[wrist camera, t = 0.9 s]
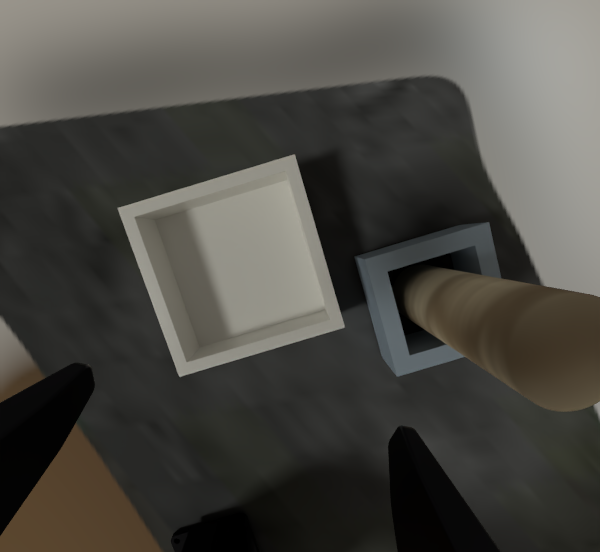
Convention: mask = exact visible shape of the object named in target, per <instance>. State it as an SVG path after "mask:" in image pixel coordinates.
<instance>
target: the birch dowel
mask: <svg viewBox="0 0 600 552" xmlns="http://www.w3.org/2000/svg"><path fill="white" fill-rule="evenodd" d="M392 291H393V295H394V298H395V302H396V306H397V310H398V311H399V312H400V313H401V314H402V315H404V316H405V317H407V318H408V319H410V320H411V321H413V322H414V323H415V324H417V325H418V326H420V327H421V328H423V329H424V330H426V331H427V332H429V333H430V334H432V335H433V336H435V337H436V338H438V339H439V340H441V341H442V342H444V343H445V344H447V345H448V346H450V347H451V348H453V349H454V350H456V351H457V352H459V353H460V354H462V355H463V356H465V357H466V358H468V359H469V360H471V361H472V362H474V363H475V364H477V365H478V366H480V367H481V368H483V369H484V370H486V371H487V372H489V373H490V374H492V375H493V376H495V377H496V378H498V379H499V380H501V381H502V382H504V383H505V384H507V385H508V386H510V387H511V388H513V389H514V390H516V391H517V392H519V393H520V394H522V395H523V396H525V397H526V398H528V399H529V400H531V401H532V402H534V403H535V404H537V405H538V406H541V407H543V408H545V409H549V410H552V411H559V412H570V411H577V410H581V409H584V408H587V407H590V406H592V405H594V404H596V403H598V402H599V401H600V297H597V296H594V295H590V294H584V293H579V292H573V291H568V290H562V289H557V288H551V287H546V286H540V285H535V284H529V283H523V282H518V281H512V280H507V279H501V278H496V277H490V276H485V275H479V274H474V273H468V272H462V271H457V270H451V269H446V268H440V267H435V266H429V265H421V264H420V265H414V266H411V267H409V268H407V269H405V270H404V271H402V272H401V273H400V274H399V276H398V277H397V278H396V280H395V282H394V285H393V289H392Z"/></svg>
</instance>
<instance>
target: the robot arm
mask: <svg viewBox="0 0 600 552" xmlns="http://www.w3.org/2000/svg"><path fill="white" fill-rule="evenodd" d="M94 387H95V382H94V377H93V372H92V367H91V366H90V365H87V364H82V363H73V364H71V365H69V366H67V367H65V368H63V369H61V370H59V371H58V372H56V373H54V374H52V375H50V376H48V377H47V378H45V379H43V380H41V381H39V382H37V383H36V384H34V385H32V386H30V387H28V388H26V389H25V390H23V391H21V392H19V393H17V394H15V395H13V396H12V397H10V398H8V399H6V400H4V401H3V402H1V403H0V535H1V534H2V533H3V531H4V530H5V528H6V527H7V525H8V524H9V522H10V521H11V520H12V518H13V517H14V515H15V514H16V512H17V511H18V510H19V508H20V507H21V505H22V504H23V502H24V501H25V499H26V498H27V497H28V495H29V494H30V492H31V491H32V489H33V488H34V487H35V485H36V484H37V482H38V481H39V479H40V478H41V476H42V475H43V474H44V472H45V471H46V469H47V468H48V466H49V465H50V463H51V462H52V461H53V459H54V458H55V456H56V455H57V453H58V452H59V450H60V449H61V447H62V446H63V444H64V442H65V441H66V439H67V437H68V435H69V434H70V432H71V430H72V428H73V427H74V425H75V423H76V421H77V419H78V418H79V416H80V414H81V412H82V411H83V409H84V407H85V405H86V403H87V402H88V400H89V398H90V396H91V395H92V393H93V391H94ZM388 454H389V474H390V494H391V507H392V515H393V522H394V529H395V536H396V543H397V550H398V552H500V550H499V549H498V547H497V546H496V545H495V543H494V542H493V540H492V539H491V537H490V536H489V535H488V533H487V532H486V530H485V529H484V527H483V526H482V525H481V523H480V522H479V520H478V519H477V517H476V516H475V515H474V513H473V512H472V510H471V509H470V507H469V506H468V505H467V503H466V502H465V500H464V499H463V497H462V496H461V495H460V493H459V492H458V490H457V489H456V487H455V486H454V485H453V483H452V482H451V480H450V479H449V477H448V476H447V475H446V473H445V472H444V470H443V469H442V467H441V466H440V465H439V463H438V462H437V460H436V459H435V457H434V456H433V455H432V453H431V452H430V450H429V449H428V447H427V446H426V445H425V443H424V442H423V440H422V439H421V437H420V436H419V435H418V433H417V432H416V430H415V429H413V428H412V427H407V426H402V425H401V426H399V427H398V428H397V429H396V431H395V433H394V434H393V436H392V437H391V439H390V441H389V445H388ZM240 520H242V521H240ZM177 538H178V539H177ZM171 543H172V546H173V548H174V551H175V552H259V549H258V546H257V544H256V541H255V538H254V535H253V532H252V530H251V527H250V524H249V521H248V518H247V516H246V515H245V514H244V513H237V514H234V515H231V516H227V517H224V518H221V519H217V520H214V521H210V522H207V523H204V524H200V525H197V526H193V527H190V528H187V529H183V530H180V531H177V532H175V533H174V534H173V536H172V539H171Z"/></svg>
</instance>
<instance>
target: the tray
mask: <svg viewBox="0 0 600 552" xmlns="http://www.w3.org/2000/svg"><path fill="white" fill-rule="evenodd" d="M118 211H119V214H120V216H121V219H122V222H123V224H124V227H125V230H126V233H127V235H128V238H129V241H130V244H131V246H132V249H133V252H134V254H135V257H136V260H137V263H138V265H139V268H140V271H141V274H142V276H143V279H144V282H145V285H146V287H147V290H148V293H149V295H150V298H151V301H152V304H153V306H154V309H155V312H156V315H157V317H158V320H159V323H160V326H161V328H162V331H163V334H164V336H165V339H166V342H167V345H168V347H169V350H170V353H171V356H172V358H173V361H174V364H175V367H176V369H177V372H178V375H179V377H181V376H184V375H187V374H191V373H194V372H197V371H201V370H204V369H207V368H211V367H214V366H217V365H221V364H224V363H227V362H231V361H234V360H237V359H241V358H244V357H248V356H251V355H254V354H258V353H261V352H264V351H268V350H271V349H274V348H278V347H281V346H284V345H288V344H291V343H294V342H298V341H301V340H304V339H308V338H311V337H314V336H318V335H321V334H324V333H328V332H331V331H334V330H338V329H341V328H345V326H344V323H343V319H342V316H341V312H340V309H339V305H338V302H337V299H336V295H335V292H334V288H333V285H332V281H331V278H330V274H329V271H328V267H327V264H326V261H325V257H324V254H323V250H322V247H321V243H320V240H319V236H318V233H317V229H316V226H315V223H314V219H313V216H312V212H311V209H310V205H309V202H308V198H307V195H306V192H305V188H304V185H303V181H302V178H301V174H300V171H299V167H298V164H297V160H296V157H295V154H294V155H291V156H287V157H284V158H281V159H278V160H274V161H271V162H268V163H264V164H261V165H258V166H255V167H251V168H248V169H245V170H241V171H238V172H235V173H232V174H228V175H225V176H222V177H218V178H215V179H212V180H209V181H205V182H202V183H199V184H195V185H192V186H189V187H186V188H182V189H179V190H176V191H172V192H169V193H166V194H163V195H159V196H156V197H153V198H149V199H146V200H143V201H140V202H136V203H133V204H130V205H126V206H123V207H120V208H118Z"/></svg>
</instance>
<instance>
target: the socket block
mask: <svg viewBox="0 0 600 552" xmlns="http://www.w3.org/2000/svg"><path fill="white" fill-rule="evenodd" d="M448 253H450V255H451V259H452V263H453V267H454V270H457V271H462V272H468V273H474V274H479V275H485V276H490V277H496V278H501V274H500V270H499V265H498V261H497V256H496V252H495V247H494V243H493V238H492V233H491V229H490V224H489V222H485V223H474V224H464V225H457V226H454V227H451V228H448V229H444V230H441V231H438V232H434V233H431V234H428V235H424V236H421V237H418V238H414V239H411V240H408V241H404V242H401V243H398V244H394V245H391V246H388V247H384V248H381V249H378V250H374V251H371V252H368V253H364V254H361V255H358V256H354V258H355V261H356V265H357V269H358V272H359V276H360V279H361V283H362V287H363V290H364V294H365V297H366V301H367V305H368V308H369V312H370V315H371V319H372V323H373V326H374V330H375V333H376V337H377V341H378V344H379V348H380V351H381V355H382V358H383V359H384V360H385V362H386V363H387V364H388V366H389V367H390V368H391V369H392V371H393V372H394V373H395V375H396V376H397V377H398V376H401V375H405V374H408V373H411V372H415V371H418V370H421V369H425V368H428V367H432V366H435V365H438V364H442V363H445V362H448V361H452V360H455V359H459V358H462V357H465V356H463V355H462V354H460V353H459V352H457V351H456V350H454V349H453V348H451V347H450V346H448V345H447V344H445V343H444V342H442V341H441V340H439V339H438V338H436V337H435V336H433V335H432V334H430V333H429V332H427V331H426V330H422V331H418V332H415V333H411V334H408V335H405V336H404V332H403V328H402V325H401V321H400V317H399V313H398V310H397V306H396V302H395V298H394V295H393V291H392V287H391V283H390V280H389V276H388V271H391V270H394V269H398V268H401V267H404V266H408V265H411V264H414V263H418V262H421V261H424V260H428V259H431V258H434V257H438V256H441V255H444V254H448Z"/></svg>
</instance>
